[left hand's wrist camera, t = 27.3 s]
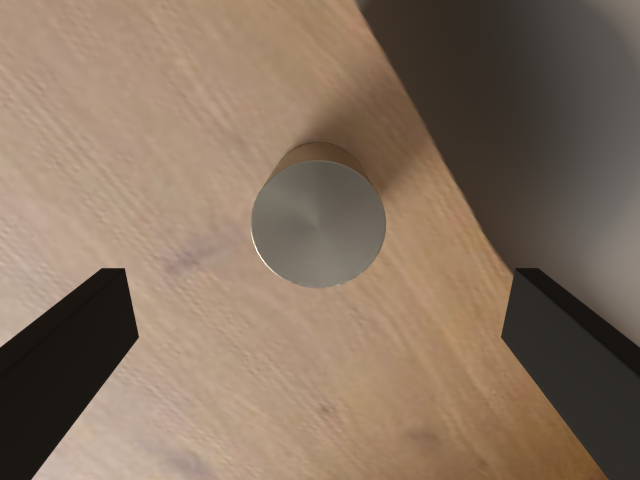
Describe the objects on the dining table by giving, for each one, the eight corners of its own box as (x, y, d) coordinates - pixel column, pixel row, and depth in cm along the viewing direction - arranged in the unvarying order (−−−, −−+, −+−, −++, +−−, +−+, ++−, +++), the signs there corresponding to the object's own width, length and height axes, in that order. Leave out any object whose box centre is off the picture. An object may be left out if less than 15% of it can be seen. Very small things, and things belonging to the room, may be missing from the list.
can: (310, 120, 26) (307, 129, 18) (387, 185, 28) (414, 218, 20) (250, 199, 28) (224, 237, 20) (325, 255, 30) (327, 311, 22)
